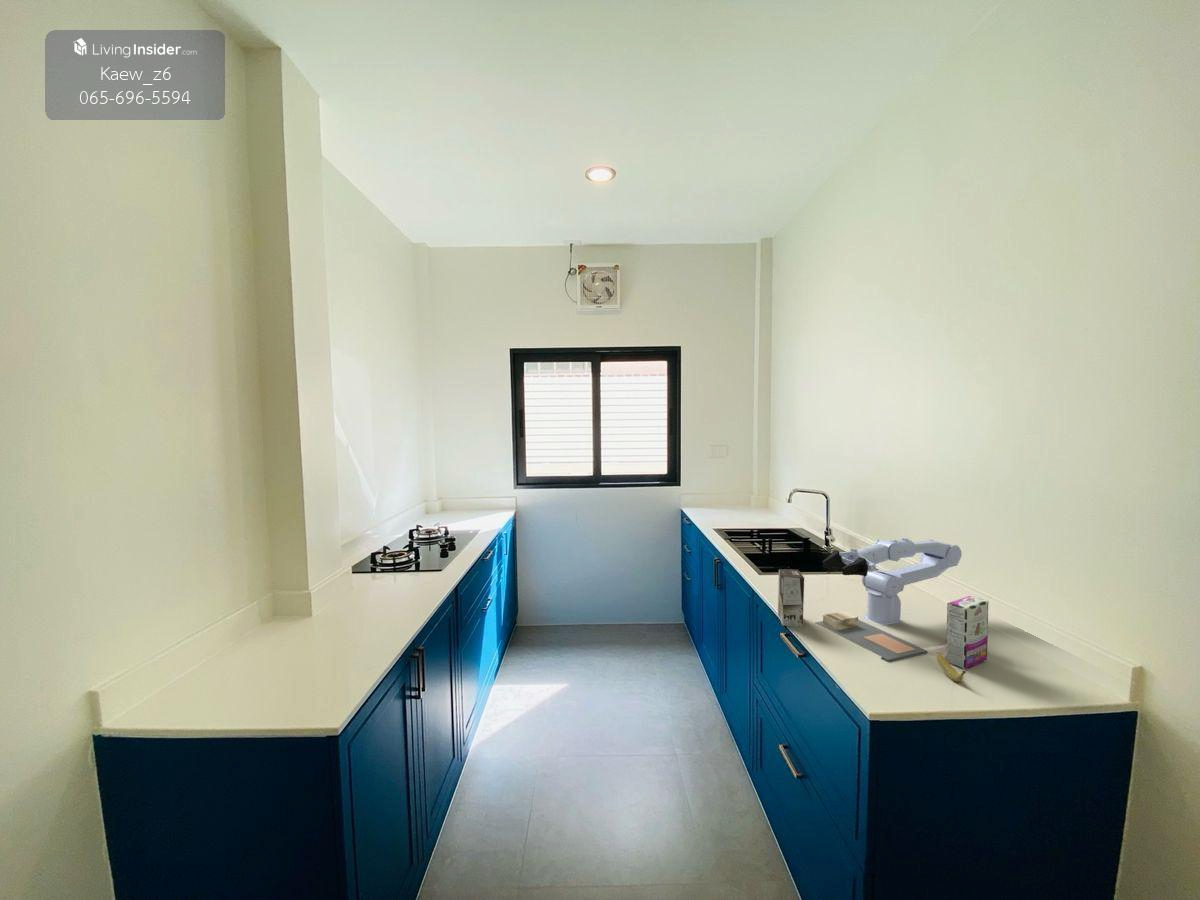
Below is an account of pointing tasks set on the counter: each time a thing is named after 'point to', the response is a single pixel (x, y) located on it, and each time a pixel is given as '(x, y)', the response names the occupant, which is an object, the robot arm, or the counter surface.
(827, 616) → the card box
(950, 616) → the candy bar box
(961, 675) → the banana
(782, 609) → the coffee box
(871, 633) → the mat
